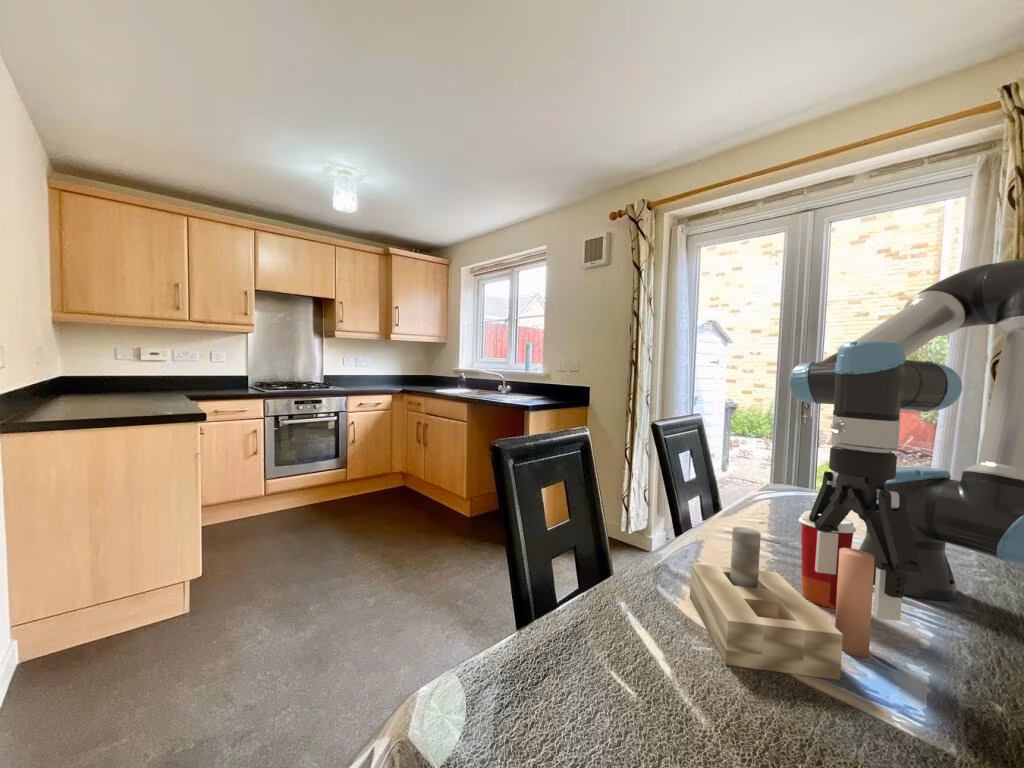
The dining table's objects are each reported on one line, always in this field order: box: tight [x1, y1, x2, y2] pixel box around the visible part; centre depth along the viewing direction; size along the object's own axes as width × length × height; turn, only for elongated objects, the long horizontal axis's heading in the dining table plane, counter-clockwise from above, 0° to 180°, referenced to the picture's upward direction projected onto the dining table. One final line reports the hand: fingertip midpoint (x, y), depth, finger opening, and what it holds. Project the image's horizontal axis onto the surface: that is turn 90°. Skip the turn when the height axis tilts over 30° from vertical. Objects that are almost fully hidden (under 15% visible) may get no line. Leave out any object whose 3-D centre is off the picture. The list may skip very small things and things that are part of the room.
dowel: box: [834, 547, 875, 658], centre depth 62 cm, size 4×4×14 cm
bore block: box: [689, 526, 843, 681], centre depth 65 cm, size 14×18×14 cm
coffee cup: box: [798, 510, 857, 609], centre depth 76 cm, size 8×8×15 cm
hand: (852, 593), depth 62 cm, fingers open, 13 cm apart
